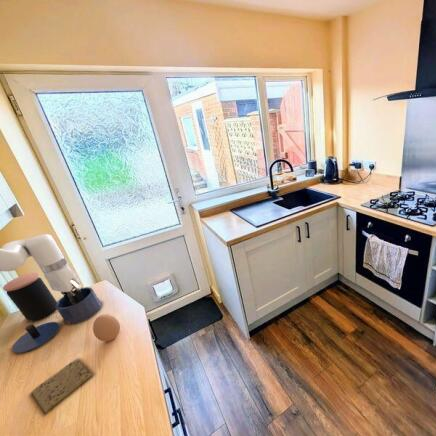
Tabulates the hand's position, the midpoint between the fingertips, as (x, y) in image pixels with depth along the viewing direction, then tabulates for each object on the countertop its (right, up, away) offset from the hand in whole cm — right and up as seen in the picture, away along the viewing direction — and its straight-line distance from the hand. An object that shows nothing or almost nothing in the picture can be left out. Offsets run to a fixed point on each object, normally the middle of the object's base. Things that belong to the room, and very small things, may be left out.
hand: (76, 300), depth 103 cm
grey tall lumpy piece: (+1, -6, +3) cm, 7 cm away
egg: (+24, -11, -11) cm, 28 cm away
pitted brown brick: (+19, -18, -26) cm, 37 cm away
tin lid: (-8, -12, -8) cm, 16 cm away
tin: (+1, -6, +3) cm, 7 cm away
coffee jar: (-19, -8, +6) cm, 22 cm away
